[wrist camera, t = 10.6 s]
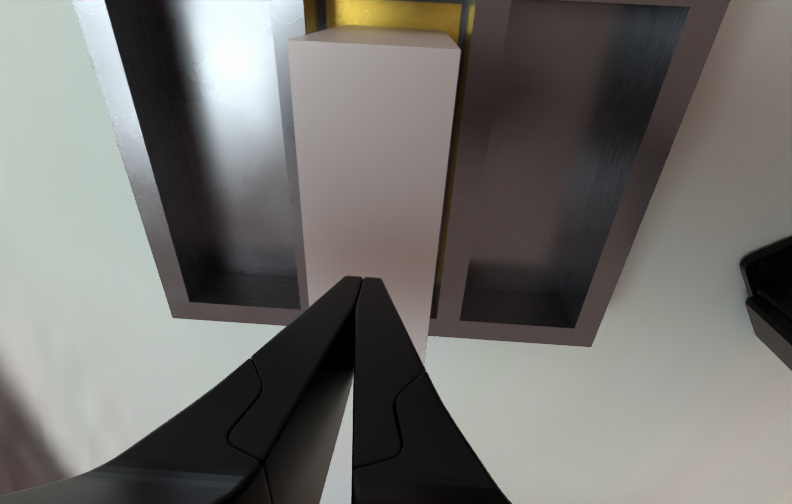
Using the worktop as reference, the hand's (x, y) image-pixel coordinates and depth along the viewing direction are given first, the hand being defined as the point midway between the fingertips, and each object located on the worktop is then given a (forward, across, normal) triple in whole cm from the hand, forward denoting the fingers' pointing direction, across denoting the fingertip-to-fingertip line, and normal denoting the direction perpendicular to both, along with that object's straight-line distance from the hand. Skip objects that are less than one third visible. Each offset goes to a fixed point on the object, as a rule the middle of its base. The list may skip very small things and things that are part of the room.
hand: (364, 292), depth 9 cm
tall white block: (+8, 0, 0) cm, 8 cm away
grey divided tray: (+9, 0, 0) cm, 9 cm away
